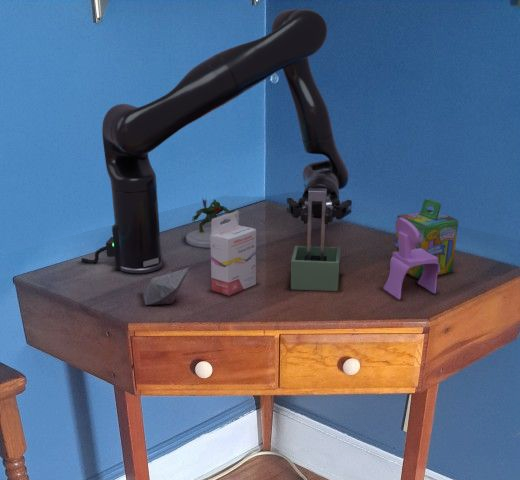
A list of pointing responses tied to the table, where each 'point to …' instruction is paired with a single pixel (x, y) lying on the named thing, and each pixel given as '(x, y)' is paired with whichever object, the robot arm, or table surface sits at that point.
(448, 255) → the chalk box
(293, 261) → the holder
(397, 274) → the toy chair
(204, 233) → the monster figurine
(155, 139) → the robot arm
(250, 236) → the ink cartridge box
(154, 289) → the grey faceted pointed rock
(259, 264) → the table surface
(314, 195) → the tall two-post stand
